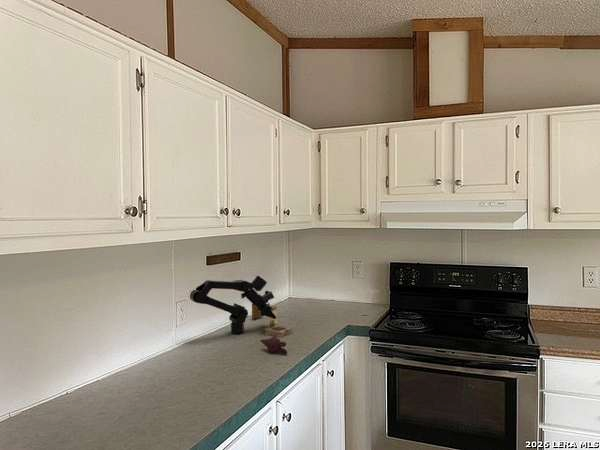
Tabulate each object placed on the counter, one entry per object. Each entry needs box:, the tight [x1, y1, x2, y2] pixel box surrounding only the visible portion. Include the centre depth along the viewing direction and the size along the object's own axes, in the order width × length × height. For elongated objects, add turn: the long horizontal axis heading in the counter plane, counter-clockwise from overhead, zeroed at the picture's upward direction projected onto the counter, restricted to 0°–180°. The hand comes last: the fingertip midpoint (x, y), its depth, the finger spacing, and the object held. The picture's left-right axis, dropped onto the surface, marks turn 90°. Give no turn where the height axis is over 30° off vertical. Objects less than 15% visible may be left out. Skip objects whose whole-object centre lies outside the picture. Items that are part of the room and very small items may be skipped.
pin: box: [268, 305, 278, 328], centre depth 228 cm, size 4×4×12 cm
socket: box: [264, 325, 293, 338], centre depth 219 cm, size 10×10×3 cm
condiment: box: [248, 303, 263, 321], centre depth 252 cm, size 7×8×12 cm
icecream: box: [259, 336, 288, 355], centre depth 191 cm, size 7×7×15 cm
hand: (275, 317), depth 228 cm, fingers closed on pin, 4 cm apart
